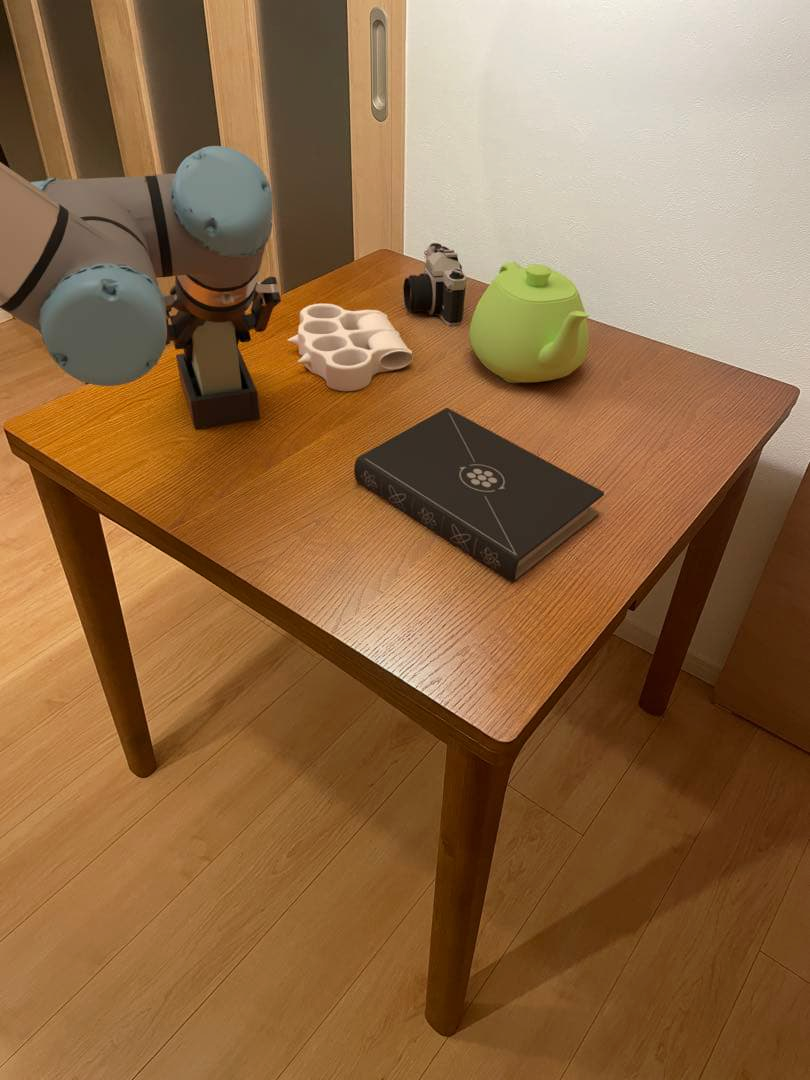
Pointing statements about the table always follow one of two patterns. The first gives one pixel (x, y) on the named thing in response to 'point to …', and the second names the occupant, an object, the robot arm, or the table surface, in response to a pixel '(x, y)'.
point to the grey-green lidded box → (216, 358)
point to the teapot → (530, 325)
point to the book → (479, 491)
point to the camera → (438, 286)
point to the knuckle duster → (348, 345)
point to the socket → (219, 398)
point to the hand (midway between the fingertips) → (208, 347)
